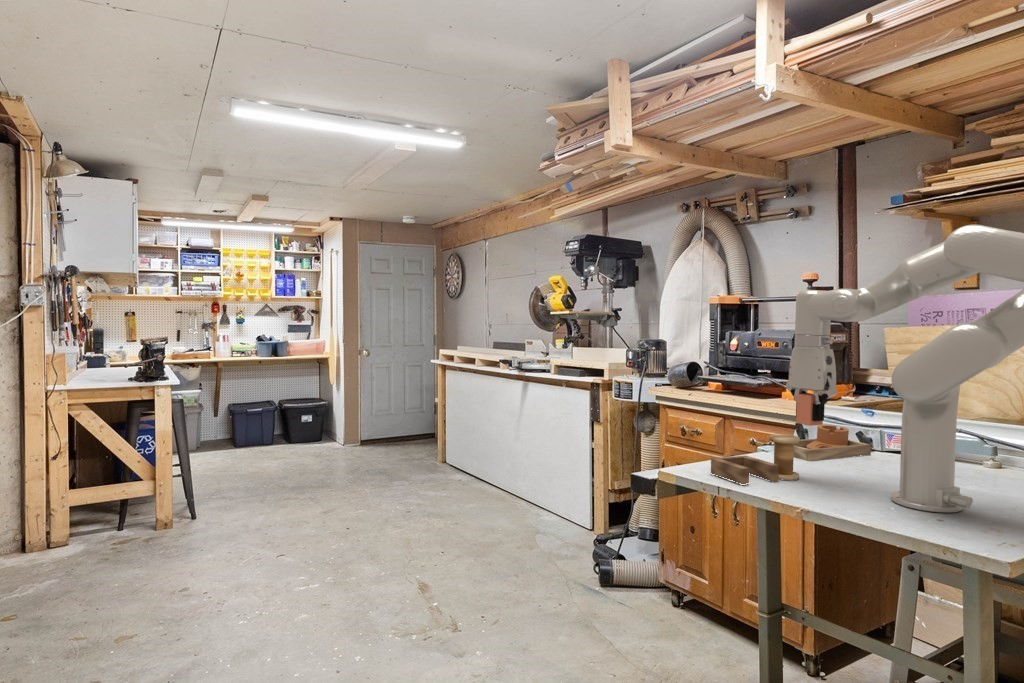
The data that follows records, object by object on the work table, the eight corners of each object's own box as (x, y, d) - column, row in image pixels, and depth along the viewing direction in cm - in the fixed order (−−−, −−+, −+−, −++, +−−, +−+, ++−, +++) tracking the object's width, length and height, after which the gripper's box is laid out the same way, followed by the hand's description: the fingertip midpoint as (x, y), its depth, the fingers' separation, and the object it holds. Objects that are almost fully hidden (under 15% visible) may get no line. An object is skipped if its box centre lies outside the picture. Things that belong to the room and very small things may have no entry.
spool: (805, 479, 149) (806, 438, 149) (783, 481, 147) (784, 440, 146) (783, 472, 156) (784, 433, 156) (761, 474, 153) (762, 435, 153)
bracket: (820, 445, 189) (822, 423, 189) (850, 450, 184) (852, 428, 183) (801, 456, 176) (803, 433, 175) (833, 463, 171) (835, 438, 170)
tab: (822, 424, 145) (823, 395, 145) (810, 425, 143) (811, 395, 143) (808, 421, 149) (809, 393, 148) (796, 422, 147) (797, 393, 147)
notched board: (778, 481, 147) (778, 465, 147) (742, 485, 143) (742, 468, 143) (745, 470, 157) (745, 455, 157) (710, 474, 153) (711, 458, 153)
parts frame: (870, 455, 177) (870, 444, 177) (809, 461, 169) (809, 450, 169) (834, 446, 189) (834, 437, 189) (775, 452, 180) (775, 442, 180)
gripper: (855, 344, 139) (852, 424, 140) (795, 341, 154) (793, 413, 155) (831, 344, 136) (828, 426, 137) (772, 341, 152) (770, 414, 152)
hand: (809, 418), depth 146 cm, fingers closed on tab, 4 cm apart
